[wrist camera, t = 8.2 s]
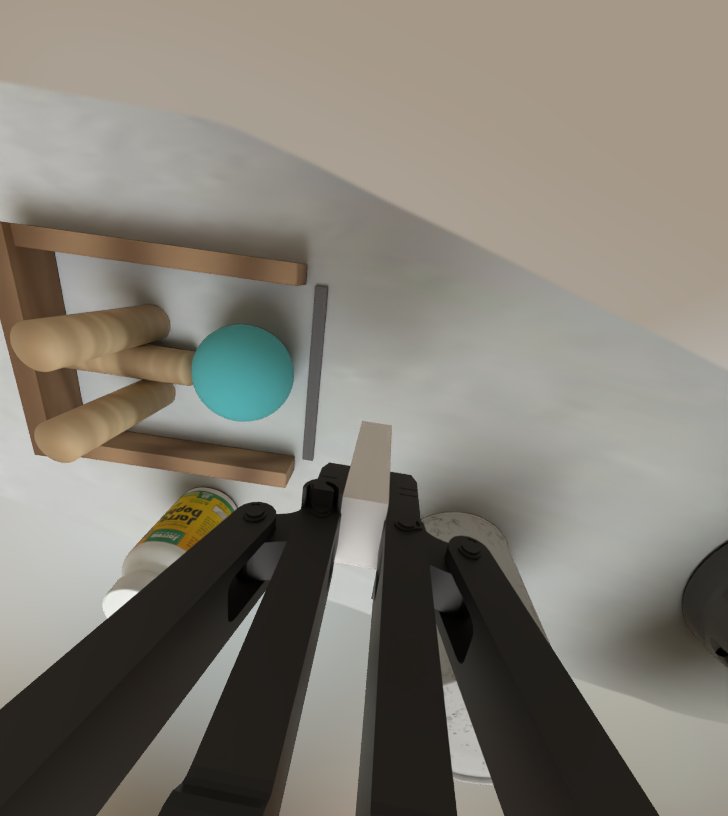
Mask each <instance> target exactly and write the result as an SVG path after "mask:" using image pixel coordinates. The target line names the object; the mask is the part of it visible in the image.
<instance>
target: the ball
mask: <svg viewBox="0 0 728 816" xmlns="http://www.w3.org/2000/svg"><path fill="white" fill-rule="evenodd" d="M191 374H192V381H193V385H194V388H195V390H196V393H197V395H198V396H199V398H200V399H201V401H202V402H203V403H204V404H205V405H206V406H207V407H208V408H209V409H210V410H211V411H213V412H214V413H216V414H218V415H219V416H222V417H224V418H227V419H230V420H234V421H243V422H244V421H254V420H259V419H262V418H264V417H267V416H268V415H270V414H272V413H274V412H275V411H276V410H278V409H279V408H280V407H281V406H282V404H283V403H284V402H285V401H286V399H287V397H288V396H289V394H290V391H291V389H292V385H293V379H294V370H293V364H292V360H291V358H290V355H289V353H288V351H287V349H286V348H285V346H284V345H283V344H282V343H281V342H280V340H279V339H277V338H276V337H275V336H274V335H273V334H271V333H270V332H268V331H266V330H264V329H262V328H259V327H256V326H252V325H246V324H237V325H230V326H226V327H223V328H220V329H218V330H216V331H214V332H213V333H211V334H210V335H208V336H207V337H206V338H205V339H204V340H203V341H202V343H201V344H200V345H199V347H198V348H197V350H196V352H195V355H194V357H193V361H192V367H191Z"/></svg>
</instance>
